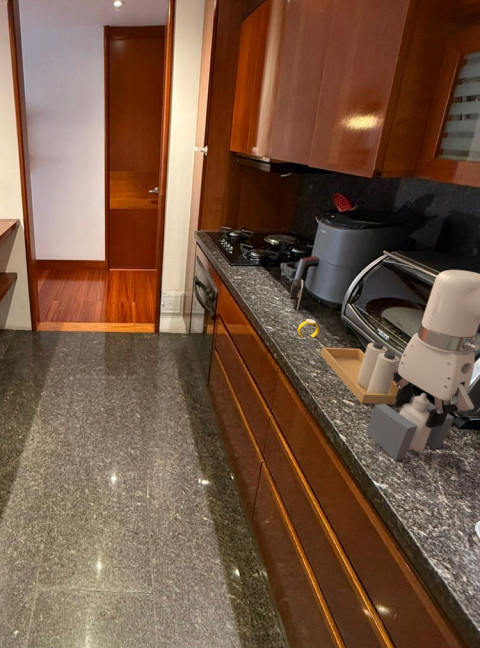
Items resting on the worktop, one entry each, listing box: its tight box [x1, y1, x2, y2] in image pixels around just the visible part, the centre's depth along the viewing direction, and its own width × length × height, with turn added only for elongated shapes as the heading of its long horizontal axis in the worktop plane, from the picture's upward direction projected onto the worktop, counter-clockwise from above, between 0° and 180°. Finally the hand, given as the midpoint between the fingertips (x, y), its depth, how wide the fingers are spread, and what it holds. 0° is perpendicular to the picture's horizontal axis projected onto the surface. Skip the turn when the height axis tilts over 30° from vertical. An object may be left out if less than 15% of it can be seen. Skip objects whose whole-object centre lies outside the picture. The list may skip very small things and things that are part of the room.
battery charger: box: [289, 278, 306, 314], centre depth 138 cm, size 7×4×11 cm, turn 155°
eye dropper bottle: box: [398, 392, 431, 451], centre depth 78 cm, size 4×6×12 cm
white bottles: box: [357, 341, 401, 394], centre depth 94 cm, size 8×4×12 cm, turn 176°
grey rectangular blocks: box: [365, 396, 455, 461], centre depth 80 cm, size 12×7×8 cm, turn 105°
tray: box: [320, 347, 399, 406], centre depth 101 cm, size 21×10×3 cm, turn 176°
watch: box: [297, 318, 320, 338], centre depth 121 cm, size 6×3×6 cm, turn 87°
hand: (417, 414), depth 78 cm, fingers closed on eye dropper bottle, 5 cm apart
